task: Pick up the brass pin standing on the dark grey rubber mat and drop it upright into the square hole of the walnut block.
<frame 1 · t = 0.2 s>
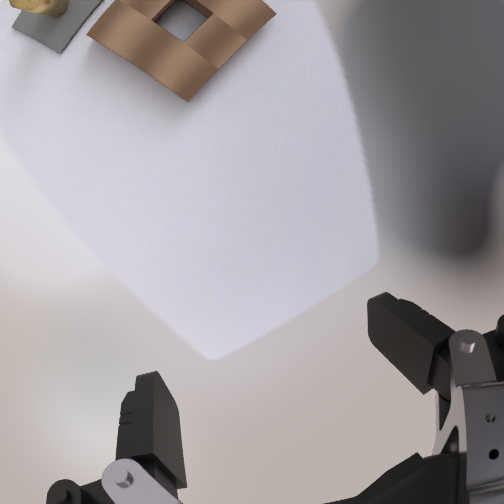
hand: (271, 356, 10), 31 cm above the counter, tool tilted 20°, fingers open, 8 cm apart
walnut block: (179, 20, 24), on the counter
rubber mat: (58, 7, 18), on the counter
brass pin: (57, 6, 17), resting on rubber mat
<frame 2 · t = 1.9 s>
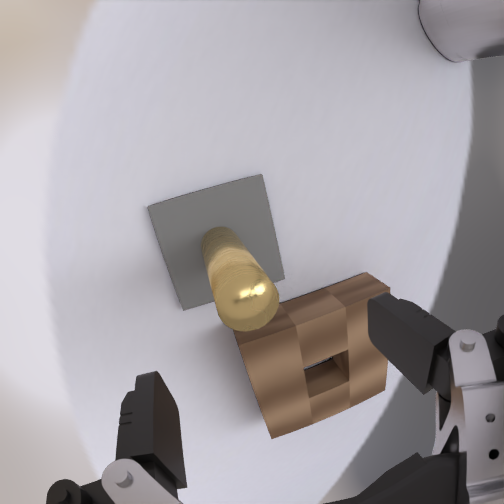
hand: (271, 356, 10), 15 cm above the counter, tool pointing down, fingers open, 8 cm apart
walnut block: (312, 351, 29), on the counter
rubber mat: (219, 243, 24), on the counter
brass pin: (220, 245, 23), point 1 cm above the counter, touching rubber mat
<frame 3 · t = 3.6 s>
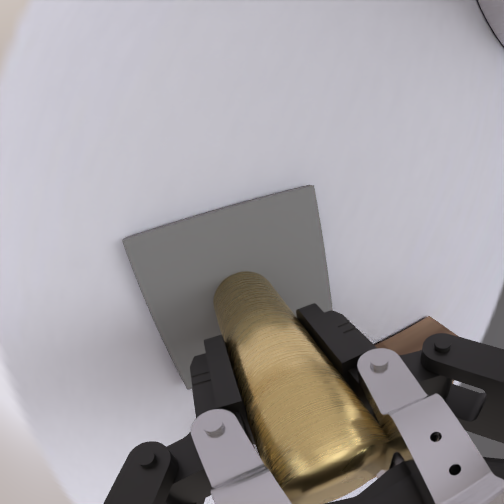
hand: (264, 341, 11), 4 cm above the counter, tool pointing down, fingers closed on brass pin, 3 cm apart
walnut block: (354, 414, 20), on the counter
rubber mat: (242, 295, 15), on the counter
brass pin: (244, 300, 14), point 1 cm above the counter, touching gripper, rubber mat
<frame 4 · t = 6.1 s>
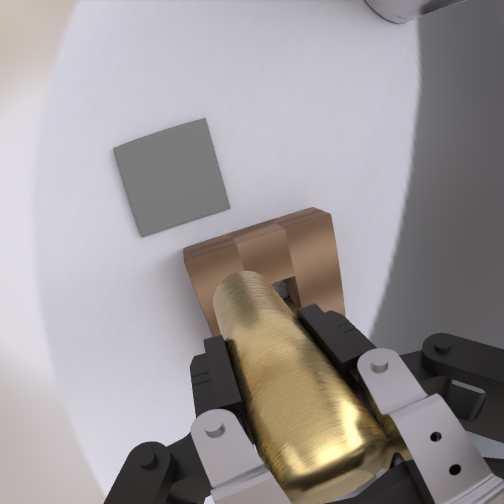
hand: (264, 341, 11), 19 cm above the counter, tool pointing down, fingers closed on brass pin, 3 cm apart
walnut block: (266, 287, 32), on the counter
rubber mat: (171, 177, 27), on the counter
brass pin: (243, 299, 14), point 16 cm above the counter, touching gripper
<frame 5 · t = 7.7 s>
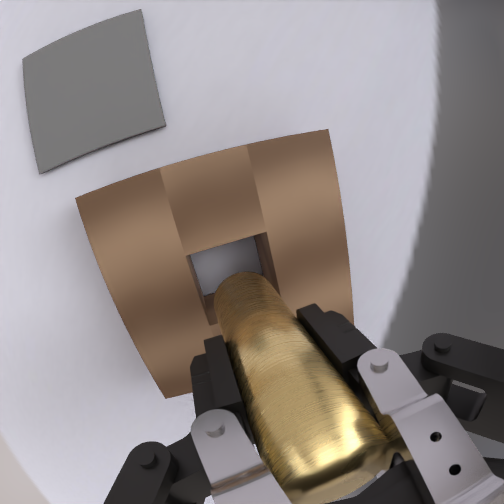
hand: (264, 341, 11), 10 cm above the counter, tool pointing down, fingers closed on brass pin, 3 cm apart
walnut block: (225, 258, 20), on the counter
rubber mat: (86, 86, 14), on the counter
brass pin: (244, 300, 14), point 6 cm above the counter, touching gripper
when the fingers open (5 cm above the counter, at t = 9.0 s): brass pin drops 1 cm, resting in walnut block.
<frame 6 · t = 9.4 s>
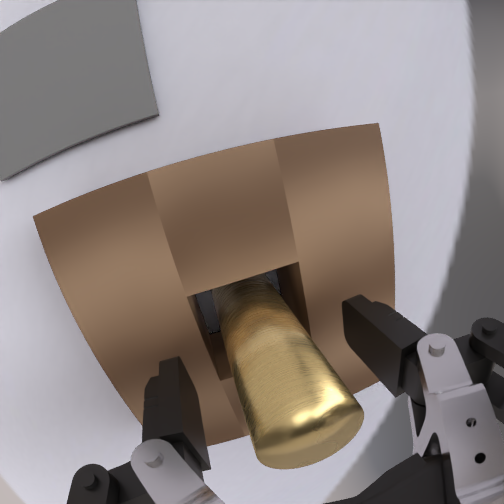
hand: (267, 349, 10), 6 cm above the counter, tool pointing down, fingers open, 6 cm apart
walnut block: (237, 288, 16), on the counter
rubber mat: (59, 68, 10), on the counter
brass pin: (239, 287, 16), resting in walnut block
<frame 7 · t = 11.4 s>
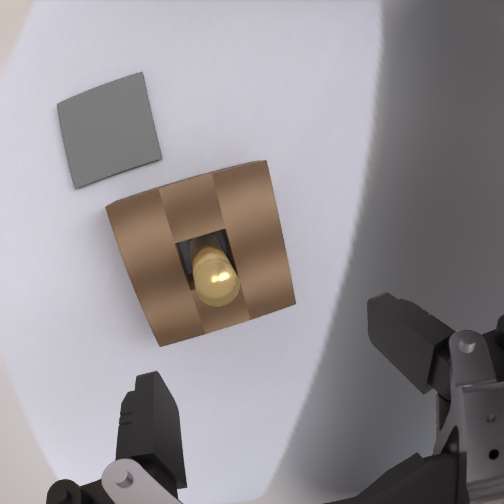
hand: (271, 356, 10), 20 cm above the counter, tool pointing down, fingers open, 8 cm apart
walnut block: (203, 248, 29), on the counter
rubber mat: (106, 129, 24), on the counter
brass pin: (204, 247, 29), resting in walnut block
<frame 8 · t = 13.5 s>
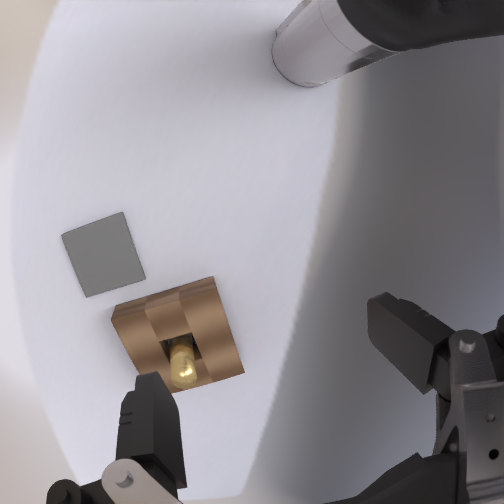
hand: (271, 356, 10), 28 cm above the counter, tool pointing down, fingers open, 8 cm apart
walnut block: (180, 334, 40), on the counter
rubber mat: (102, 256, 34), on the counter
brass pin: (180, 333, 40), resting in walnut block
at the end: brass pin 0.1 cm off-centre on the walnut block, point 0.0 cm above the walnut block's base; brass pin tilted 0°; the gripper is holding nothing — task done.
